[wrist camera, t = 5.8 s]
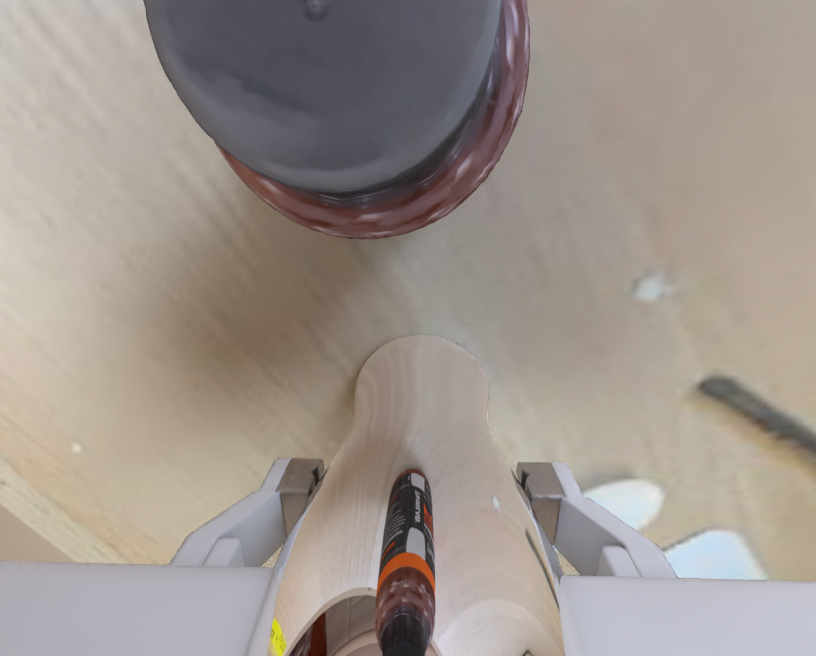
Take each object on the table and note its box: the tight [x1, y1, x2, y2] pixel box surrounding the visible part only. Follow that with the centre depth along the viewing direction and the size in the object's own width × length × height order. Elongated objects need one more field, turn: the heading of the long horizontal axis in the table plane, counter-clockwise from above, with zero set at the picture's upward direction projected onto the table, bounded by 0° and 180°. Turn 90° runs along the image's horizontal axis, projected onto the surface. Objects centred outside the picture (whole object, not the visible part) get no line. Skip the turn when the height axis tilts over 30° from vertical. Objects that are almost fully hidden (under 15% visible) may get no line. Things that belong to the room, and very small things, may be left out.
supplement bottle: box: [143, 0, 530, 239], centre depth 10 cm, size 6×6×11 cm
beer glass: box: [246, 335, 585, 656], centre depth 12 cm, size 7×7×15 cm
